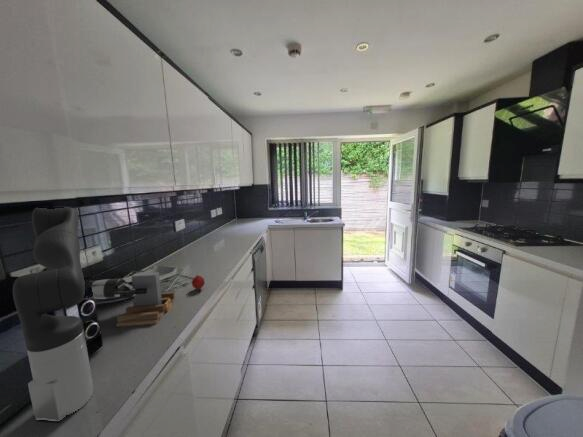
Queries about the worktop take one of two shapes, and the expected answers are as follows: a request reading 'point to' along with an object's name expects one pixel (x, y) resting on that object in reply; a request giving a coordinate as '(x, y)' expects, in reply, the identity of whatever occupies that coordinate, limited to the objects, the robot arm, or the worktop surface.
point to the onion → (198, 282)
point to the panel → (152, 285)
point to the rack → (146, 312)
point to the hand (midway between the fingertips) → (151, 285)
